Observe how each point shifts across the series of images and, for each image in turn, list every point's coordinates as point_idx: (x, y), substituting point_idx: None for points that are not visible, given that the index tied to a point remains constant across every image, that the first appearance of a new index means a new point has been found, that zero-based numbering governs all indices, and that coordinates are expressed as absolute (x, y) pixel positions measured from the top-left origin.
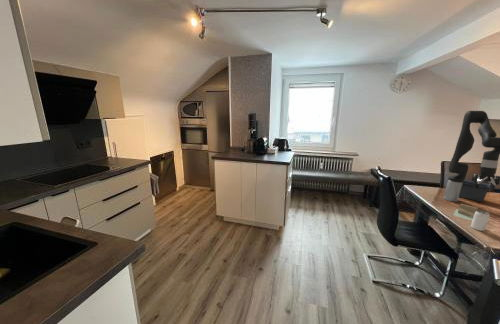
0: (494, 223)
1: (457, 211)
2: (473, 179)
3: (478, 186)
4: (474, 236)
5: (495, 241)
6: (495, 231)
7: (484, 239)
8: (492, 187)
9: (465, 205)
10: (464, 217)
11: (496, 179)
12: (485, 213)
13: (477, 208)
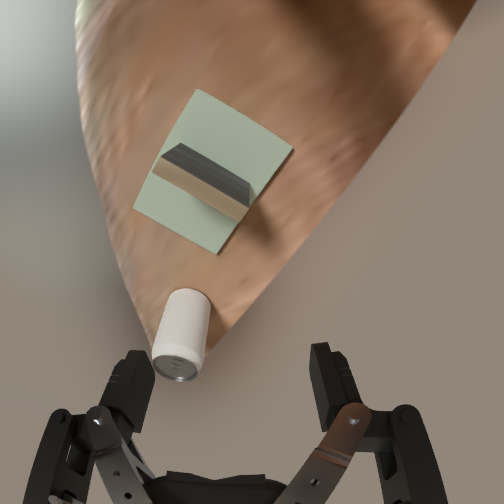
0: (307, 232)
1: (180, 134)
2: (56, 450)
3: (143, 407)
4: None
5: None
6: (248, 307)
7: None
8: (317, 403)
9: (180, 186)
10: (179, 217)
11: (392, 500)
12: (182, 372)
13: (238, 221)
